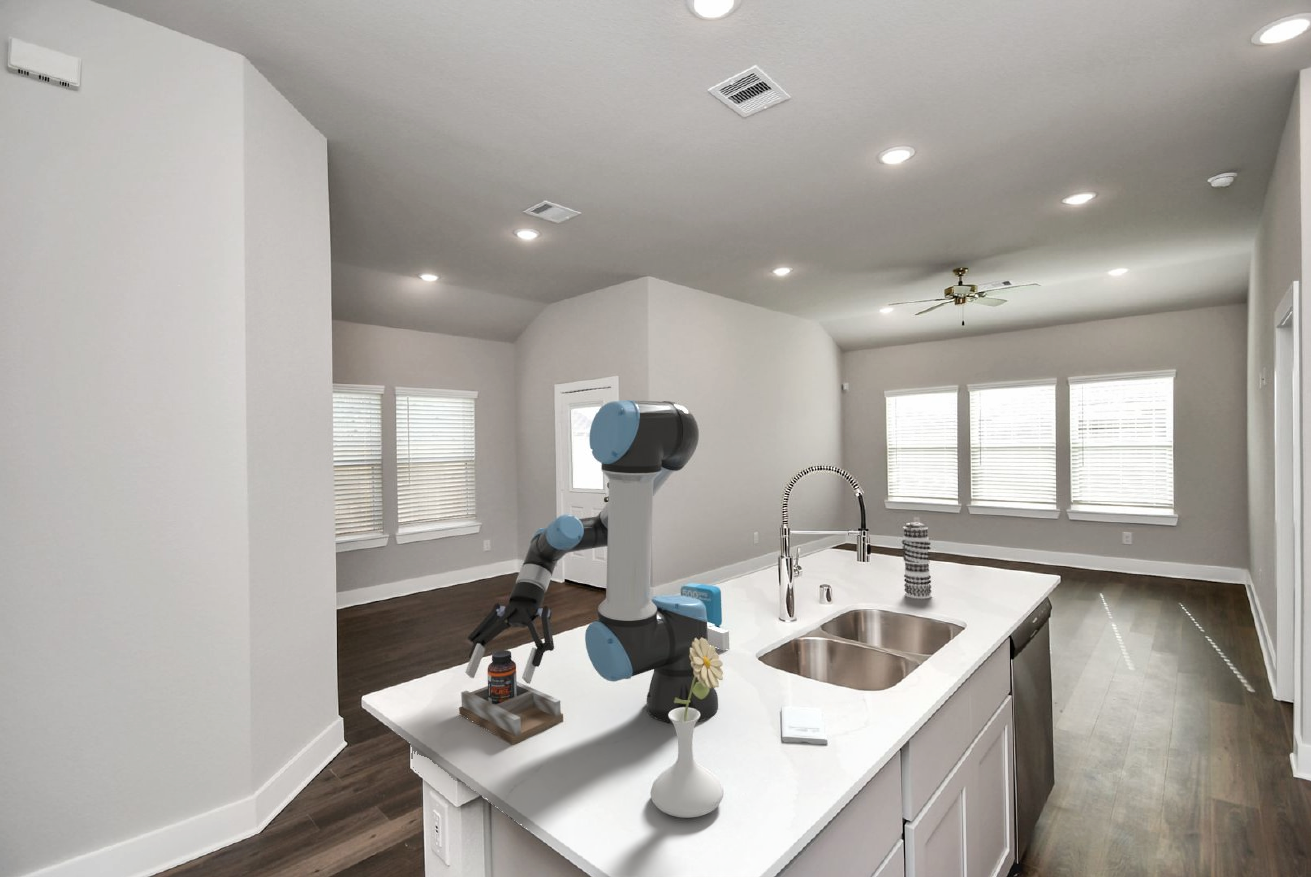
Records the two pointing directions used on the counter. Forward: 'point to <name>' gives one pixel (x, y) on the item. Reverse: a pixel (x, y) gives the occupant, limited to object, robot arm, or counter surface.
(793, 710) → the external hard drive
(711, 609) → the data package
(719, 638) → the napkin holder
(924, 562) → the decorative candle
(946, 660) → the counter surface
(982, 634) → the counter surface
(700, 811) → the flower in vase
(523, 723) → the wooden divided tray
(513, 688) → the supplement bottle
